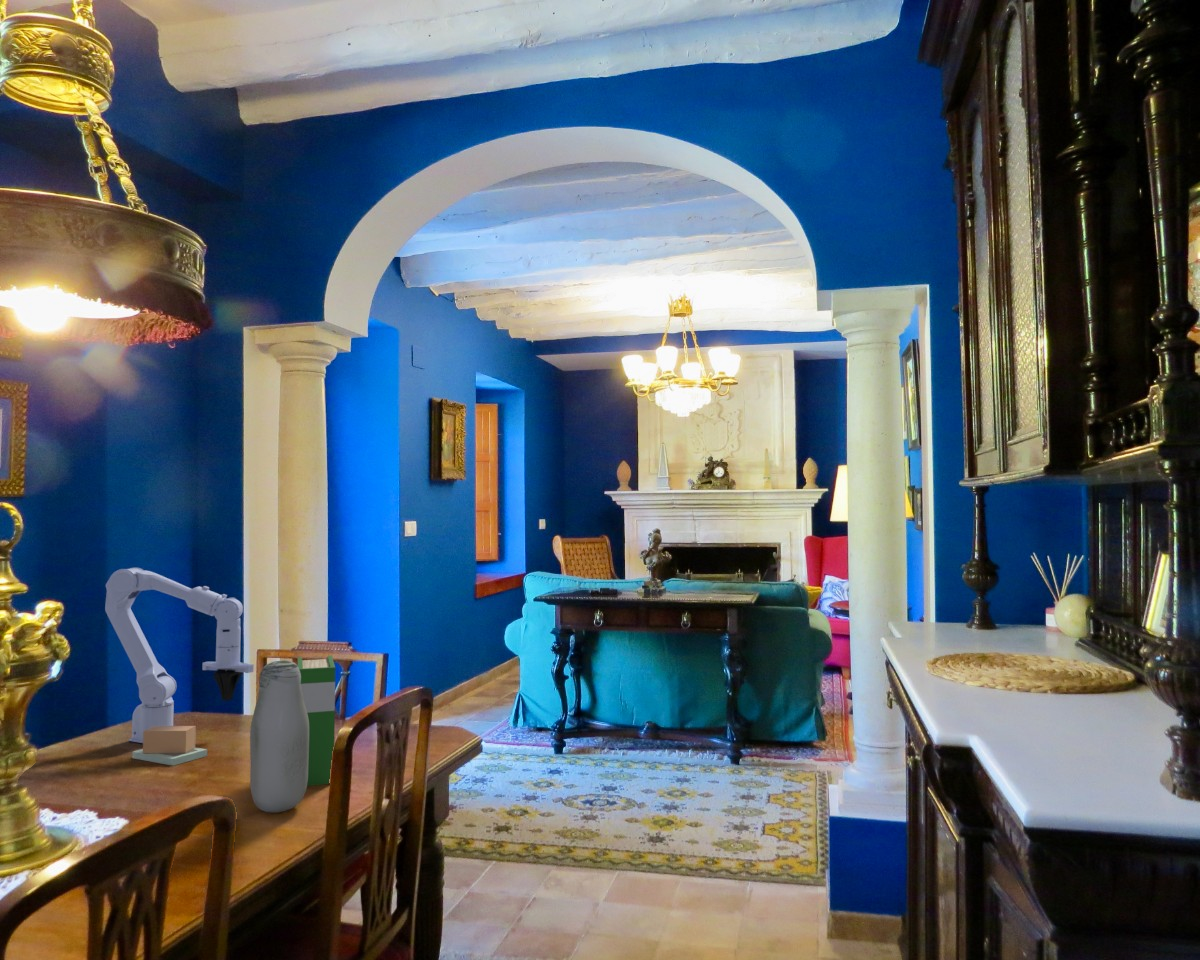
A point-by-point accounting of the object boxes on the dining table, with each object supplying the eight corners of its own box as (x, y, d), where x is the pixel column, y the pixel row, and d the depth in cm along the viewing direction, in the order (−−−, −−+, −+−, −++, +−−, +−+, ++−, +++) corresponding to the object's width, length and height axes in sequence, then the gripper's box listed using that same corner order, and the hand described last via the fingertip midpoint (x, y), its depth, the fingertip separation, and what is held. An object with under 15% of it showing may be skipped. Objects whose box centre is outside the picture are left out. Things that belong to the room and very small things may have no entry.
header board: (132, 758, 198) (132, 738, 198) (167, 749, 206) (167, 730, 206) (172, 765, 191) (173, 745, 192) (207, 756, 199) (207, 736, 200)
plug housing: (142, 753, 196) (143, 731, 196) (153, 747, 201) (153, 726, 201) (185, 752, 196) (186, 730, 196) (195, 747, 201) (195, 725, 201)
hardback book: (295, 764, 192) (297, 657, 193) (330, 761, 195) (331, 655, 196) (296, 787, 176) (298, 669, 177) (333, 783, 178) (335, 667, 179)
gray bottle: (276, 799, 167) (279, 655, 169) (318, 805, 164) (320, 658, 165) (237, 815, 158) (240, 663, 160) (280, 822, 154) (283, 666, 156)
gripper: (193, 646, 217) (192, 700, 216) (239, 649, 212) (238, 704, 212) (214, 643, 224) (213, 695, 223) (259, 645, 219) (258, 699, 218)
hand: (227, 699), depth 218 cm, fingers closed
